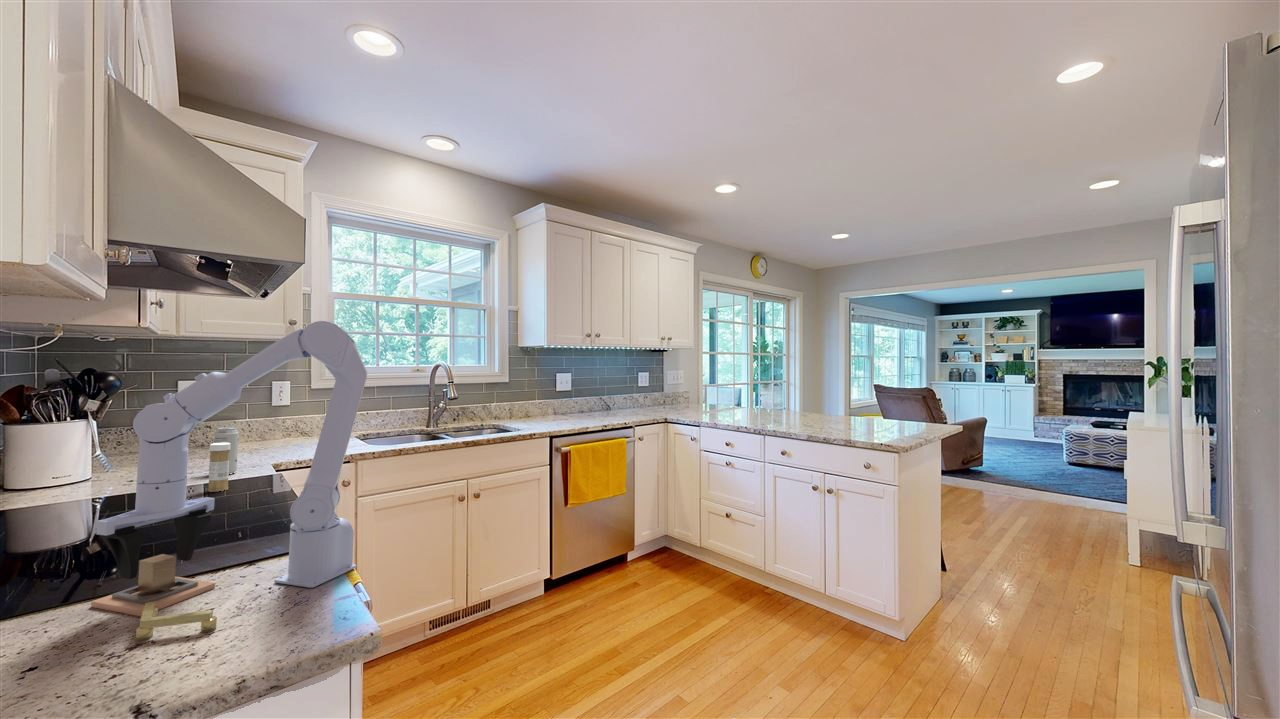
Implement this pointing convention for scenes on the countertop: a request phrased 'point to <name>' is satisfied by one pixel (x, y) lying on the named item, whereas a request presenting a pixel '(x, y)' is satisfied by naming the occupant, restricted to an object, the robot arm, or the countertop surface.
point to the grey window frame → (155, 581)
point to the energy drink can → (230, 437)
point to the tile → (137, 609)
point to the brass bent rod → (171, 621)
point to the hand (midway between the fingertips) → (157, 568)
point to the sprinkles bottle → (219, 467)
